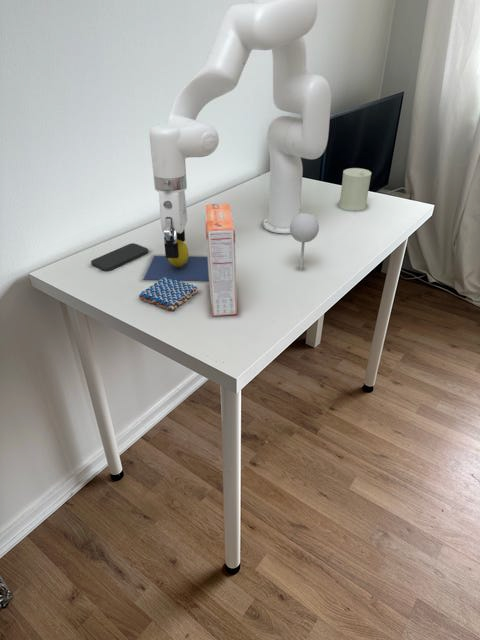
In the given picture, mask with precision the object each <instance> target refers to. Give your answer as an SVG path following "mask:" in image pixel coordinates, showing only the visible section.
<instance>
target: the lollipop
mask: <svg viewBox="0 0 480 640" xmlns="http://www.w3.org/2000/svg"><path fill="white" fill-rule="evenodd" d="M301 213H302V214H299V215H297V216H296V217H294V219H293V220H292V222H291V224H290V232H291V233H290V235H291V237H292V238H293V239H294V240H295V241H297V242H299V243H301V247H300V248H301V250H300V262H299V269H300V270H303V268H304V267H303V266H304V265H303V264H304V256H305V255H304V254H305V243H309V242H311V241H313V240H314V239H316V237H317V236H318V234H319V232H320V231H319V230H320V223H319V221H318V219H317V218H316V217H314V216H315V215H313V214H312V213H308V212H307V213H306V212H304V213H303V212H301Z"/></svg>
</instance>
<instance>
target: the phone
mask: <svg viewBox="0 0 480 640" xmlns="http://www.w3.org/2000/svg"><path fill="white" fill-rule="evenodd" d="M148 253H149V248H147V247H145V246H142V245H140V244H137V243H129V244H126V245H123V246H121V247H119V248H117V249H115V250H112V251H110V252H108V253H105V254H102V255H101V256H99V257H98V256H97V257H96V258H94V259H92V260H91V261H90V264H91V265H92V266H95V267H96V268H98V269H100V270H103V271H106V272H107V271H112V270H114V269H116V268H118V267H120V266H122V265H124V264H126V263H129V262H131V261H133V260H135V259H137V258H140V257H141V256H143V255H146V254H148Z"/></svg>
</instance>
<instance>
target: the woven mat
mask: <svg viewBox="0 0 480 640" xmlns="http://www.w3.org/2000/svg"><path fill="white" fill-rule="evenodd" d="M168 279H169V280H168ZM197 289H198V287H197V286H195V285H194V284H191V283H190V284H189V283H188V282H184V281H178V280H177V279H176V280H175V279H173V278H171V279H170V278H167V276H166V277H165V278H162V280H156V282H154V283H153V284H152V285H150V286H149V287H147V288H146V289H145V290H142V291H141V293H140V294H139V295H138V297H139V299H141V300H142V301H145V302H147V303H150V304H154V305H157V306H158V307H161V308H163V309H166V310H171V311H173V310H174V309H177V308H178V306H180V305H182V304H183V303H184V302H185V303H187V302H188V299H189V298H191V299H192V297H193V295H195V294H198V290H197Z"/></svg>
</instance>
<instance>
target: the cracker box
mask: <svg viewBox="0 0 480 640" xmlns="http://www.w3.org/2000/svg"><path fill="white" fill-rule="evenodd" d="M204 212H205V213H204V217H205V218H204V219H205V220H204V221H205V239H206V240H205V242H206V243H205V244H206V257H207V259H208V273H209V281H208V284H209V285H208V286H209V294H210V297H209V298H210V305H211V313H212V317H221V316H237V315H238V299H237V298H238V297H237V296H238V295H237V261H236V229H235V222H234V218H233V213H232V208H231V204H230V203H212V204H211V203H210V204H205V205H204Z"/></svg>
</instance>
